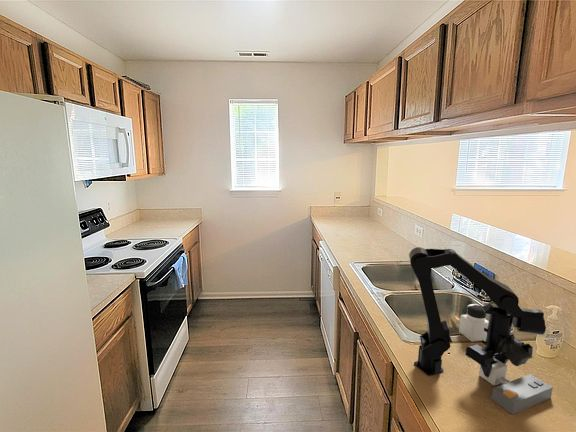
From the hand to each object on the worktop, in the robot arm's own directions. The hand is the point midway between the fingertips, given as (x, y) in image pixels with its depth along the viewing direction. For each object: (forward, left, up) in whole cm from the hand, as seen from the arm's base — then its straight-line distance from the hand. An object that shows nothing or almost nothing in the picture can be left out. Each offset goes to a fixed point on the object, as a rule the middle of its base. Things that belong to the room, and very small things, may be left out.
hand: (492, 374), depth 100 cm
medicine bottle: (-19, +16, -2) cm, 25 cm away
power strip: (+9, 0, -2) cm, 9 cm away
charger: (+2, 0, -1) cm, 2 cm away
